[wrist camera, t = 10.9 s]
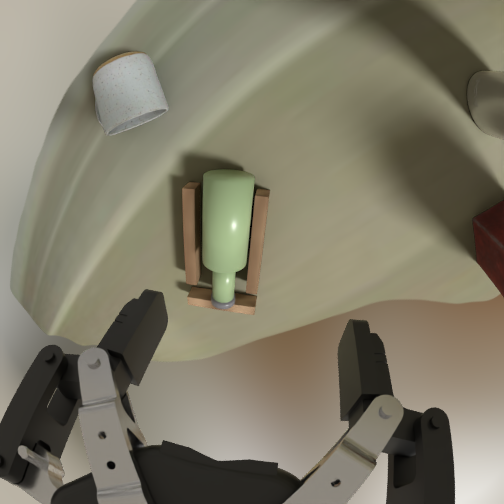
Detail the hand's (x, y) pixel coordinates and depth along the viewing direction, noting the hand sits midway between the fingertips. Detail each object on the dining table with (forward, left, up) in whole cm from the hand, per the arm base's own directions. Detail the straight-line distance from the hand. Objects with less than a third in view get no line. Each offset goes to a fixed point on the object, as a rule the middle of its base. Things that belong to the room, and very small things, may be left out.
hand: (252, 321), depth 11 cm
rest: (+5, +11, -23) cm, 26 cm away
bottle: (+5, 0, -21) cm, 21 cm away
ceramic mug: (+18, -9, -24) cm, 31 cm away
